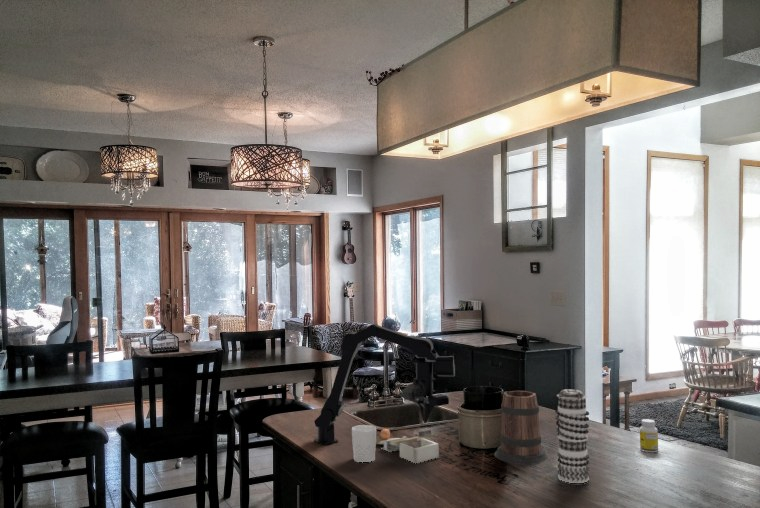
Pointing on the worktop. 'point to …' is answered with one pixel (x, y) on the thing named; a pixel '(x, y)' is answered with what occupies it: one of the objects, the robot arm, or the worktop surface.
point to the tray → (420, 451)
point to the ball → (385, 434)
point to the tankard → (520, 429)
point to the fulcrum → (391, 446)
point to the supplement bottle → (648, 436)
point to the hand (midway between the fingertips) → (425, 421)
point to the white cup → (364, 443)
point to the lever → (397, 441)
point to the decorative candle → (572, 436)
